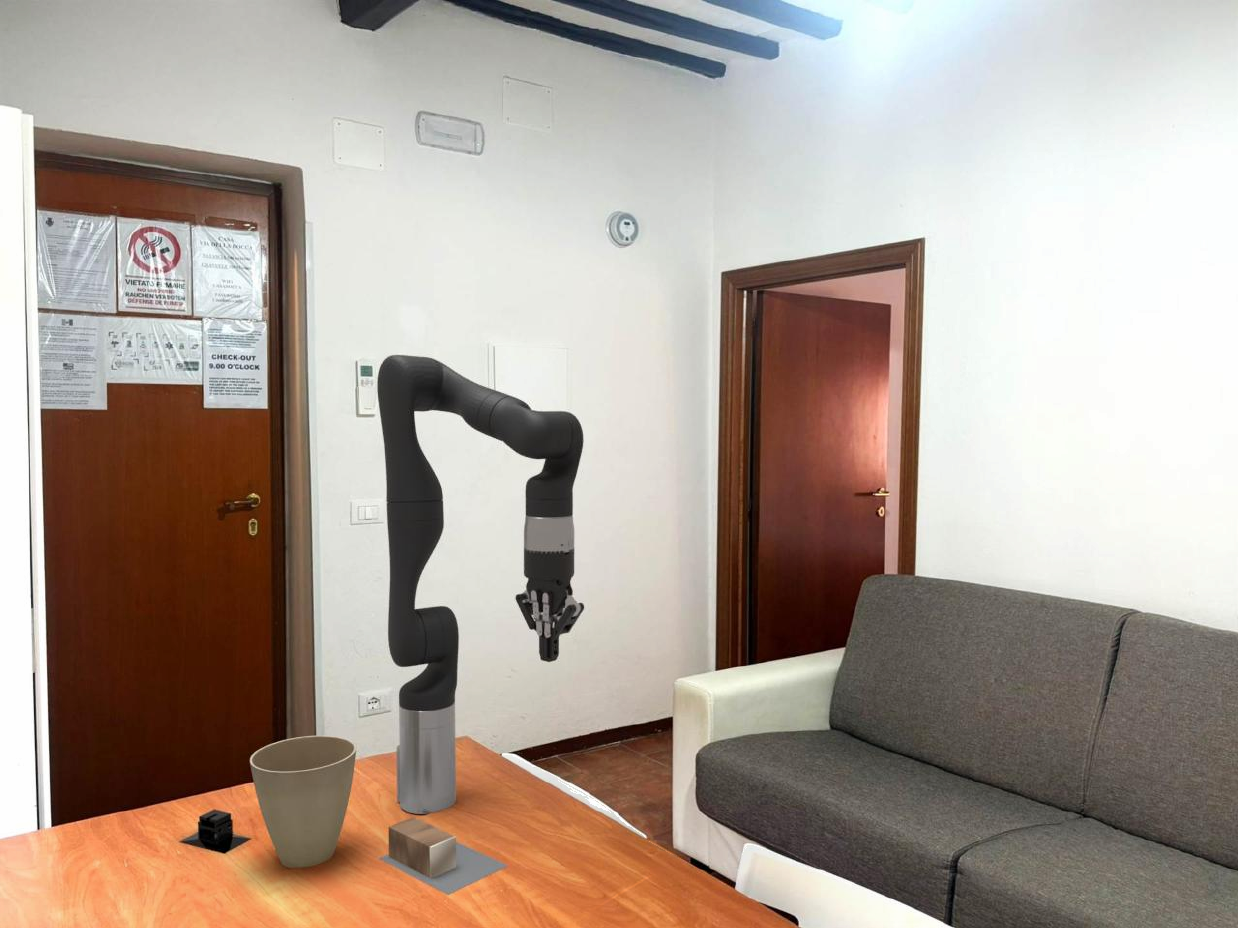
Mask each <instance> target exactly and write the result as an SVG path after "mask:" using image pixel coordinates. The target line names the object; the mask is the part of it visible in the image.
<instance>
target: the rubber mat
mask: <svg viewBox="0 0 1238 928" xmlns="http://www.w3.org/2000/svg"><path fill="white" fill-rule="evenodd" d="M378 859H379V860H381V861H383V862H384V863H386V864H388V865H390V866H392V867H394V868H396V869H398V870H399V871H402V872H403V873H406V874H407V875H409V876H412V878H415V879H416V880H418V881H421V882H423V883H425V884H427V885H429V886H430V887H432V888H434V889H436V890H438V891H440V892H442V893H443V894H445V895H448V896H449V895H451V894H453V893H455V892H457V891H459V890H462V889H463V888H466V887H467V886H470V885H472V884H473V883H476V882H478V881H480V880H482V879H484V878H486V877H488V876H490V875H492V874H495V873H497V872H499V871H501V870H503V869H505V868H507V867H509V865H507V864H505V863H503V862H501V861H499V860H498V859H495V858H492V857H490V856H488V855H487V854H484V853H482V852H480V851H477V850H475V849H473V848H472V847H469V846H467V845H465V844H463V843H460V842H458V841H456V868H454V869H451V870H449V871H447V872H445V873H443V874H440V875H438V876H436V877H434V878H432V879H431V878H429V877H427V876H425V875H423V874H421V873H419V872H417V871H415V870H413V869H411V868H410V867H408V866H406V865H404V864H402V863H400V862H398V861H396V860H394V859H392V858H390V857H389V853H387V854H386V855H383V856H380V857H379V858H378Z"/></svg>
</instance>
